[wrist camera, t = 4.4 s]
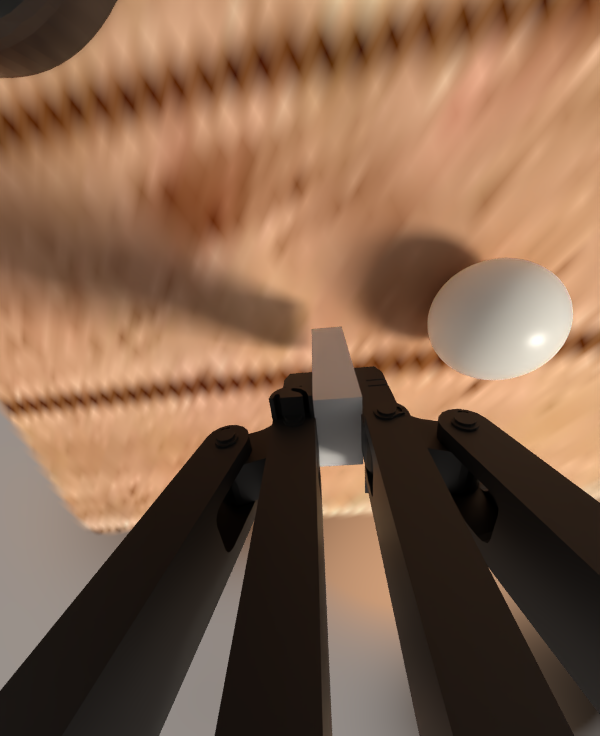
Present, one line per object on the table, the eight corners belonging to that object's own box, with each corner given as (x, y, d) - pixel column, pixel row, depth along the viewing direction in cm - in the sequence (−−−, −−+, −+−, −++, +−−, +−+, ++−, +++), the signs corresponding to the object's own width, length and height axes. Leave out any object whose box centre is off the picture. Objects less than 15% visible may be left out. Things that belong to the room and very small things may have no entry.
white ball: (392, 322, 17) (426, 368, 12) (462, 229, 14) (541, 237, 9) (465, 365, 18) (524, 422, 13) (541, 285, 15) (648, 318, 10)
